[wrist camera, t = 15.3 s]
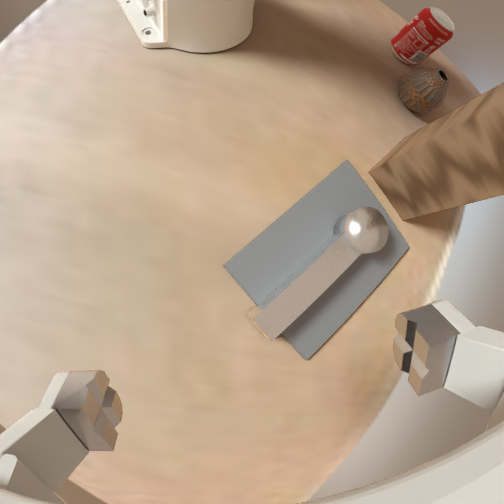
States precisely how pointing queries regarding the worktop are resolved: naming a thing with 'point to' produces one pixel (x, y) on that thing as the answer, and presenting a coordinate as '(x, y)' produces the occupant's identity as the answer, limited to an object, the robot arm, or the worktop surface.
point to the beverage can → (422, 36)
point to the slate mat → (304, 245)
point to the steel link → (320, 270)
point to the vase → (423, 88)
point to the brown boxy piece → (448, 160)
